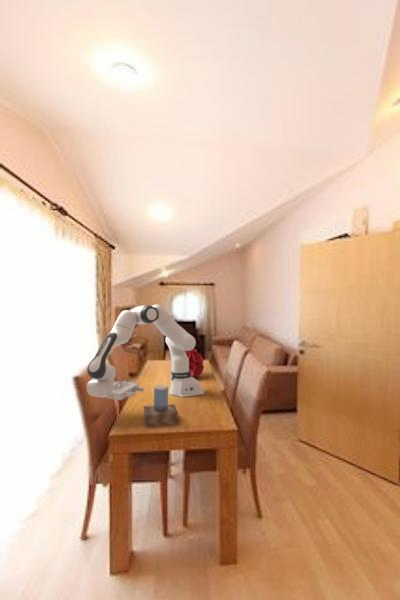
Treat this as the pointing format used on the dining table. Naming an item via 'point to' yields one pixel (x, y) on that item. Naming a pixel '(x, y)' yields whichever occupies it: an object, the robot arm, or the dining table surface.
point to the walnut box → (160, 416)
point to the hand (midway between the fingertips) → (138, 392)
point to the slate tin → (161, 398)
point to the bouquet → (195, 362)
